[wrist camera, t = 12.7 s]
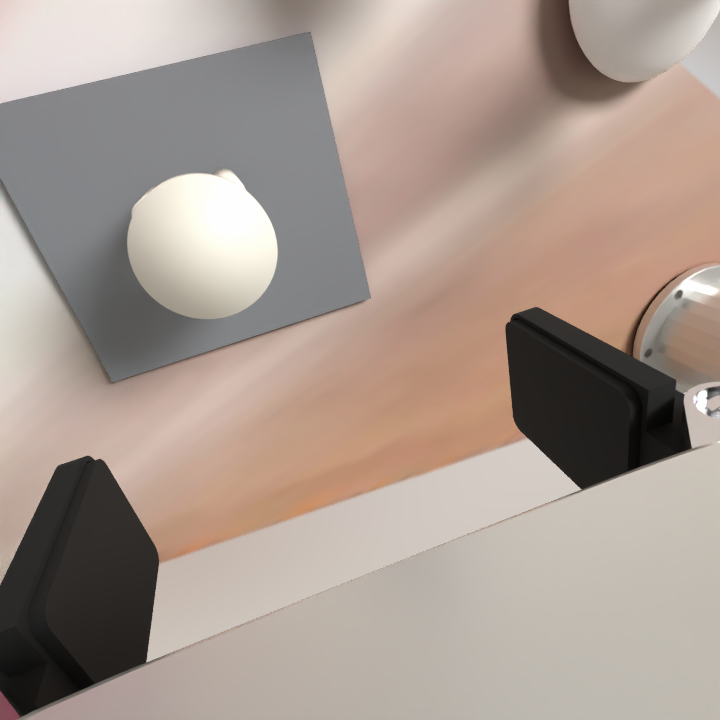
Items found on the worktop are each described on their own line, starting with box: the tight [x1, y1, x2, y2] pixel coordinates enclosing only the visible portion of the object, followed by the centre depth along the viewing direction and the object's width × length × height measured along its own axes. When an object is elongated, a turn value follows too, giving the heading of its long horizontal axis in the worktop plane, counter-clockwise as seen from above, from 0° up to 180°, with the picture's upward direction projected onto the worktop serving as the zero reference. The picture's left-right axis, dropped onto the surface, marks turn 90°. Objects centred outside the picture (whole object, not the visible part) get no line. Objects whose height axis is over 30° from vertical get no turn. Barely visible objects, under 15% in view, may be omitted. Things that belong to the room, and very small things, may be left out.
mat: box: [0, 32, 371, 383], centre depth 29 cm, size 18×16×1 cm
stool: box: [127, 168, 278, 319], centre depth 25 cm, size 6×6×8 cm
